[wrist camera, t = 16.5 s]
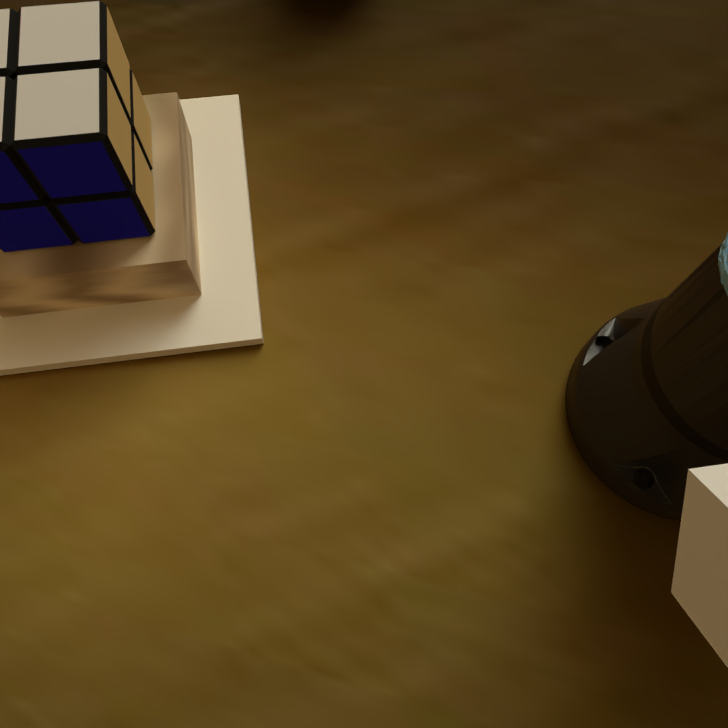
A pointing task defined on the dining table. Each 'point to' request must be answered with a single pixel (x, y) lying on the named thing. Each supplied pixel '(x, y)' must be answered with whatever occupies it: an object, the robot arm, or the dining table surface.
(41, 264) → the base block
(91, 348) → the build plate
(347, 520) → the dining table surface
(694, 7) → the dining table surface
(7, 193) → the puzzle cube
